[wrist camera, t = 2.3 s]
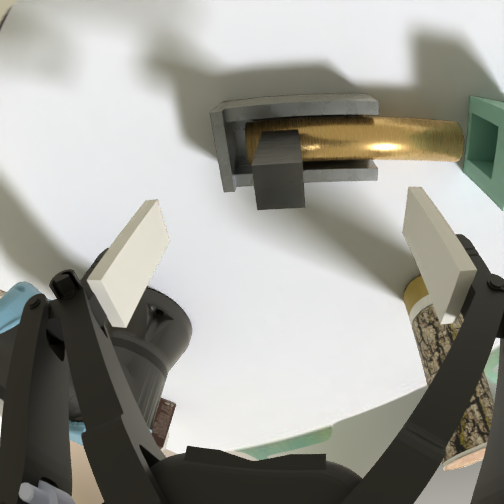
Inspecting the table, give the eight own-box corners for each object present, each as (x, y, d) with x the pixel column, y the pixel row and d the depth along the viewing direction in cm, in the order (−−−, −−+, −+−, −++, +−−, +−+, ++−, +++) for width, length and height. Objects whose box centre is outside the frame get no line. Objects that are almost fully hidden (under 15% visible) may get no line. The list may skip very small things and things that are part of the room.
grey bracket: (233, 169, 33) (223, 192, 28) (222, 101, 29) (209, 112, 24) (366, 163, 31) (379, 185, 26) (366, 93, 27) (381, 103, 22)
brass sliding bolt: (253, 156, 31) (235, 218, 21) (248, 117, 28) (225, 160, 18) (444, 153, 27) (505, 211, 18) (447, 117, 25) (516, 161, 15)
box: (158, 396, 66) (145, 441, 56) (176, 403, 67) (165, 448, 57) (152, 404, 69) (140, 446, 60) (169, 410, 70) (158, 452, 61)
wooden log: (407, 271, 38) (461, 454, 18) (450, 269, 37) (516, 436, 17) (397, 307, 42) (432, 475, 22) (437, 305, 41) (484, 460, 21)
